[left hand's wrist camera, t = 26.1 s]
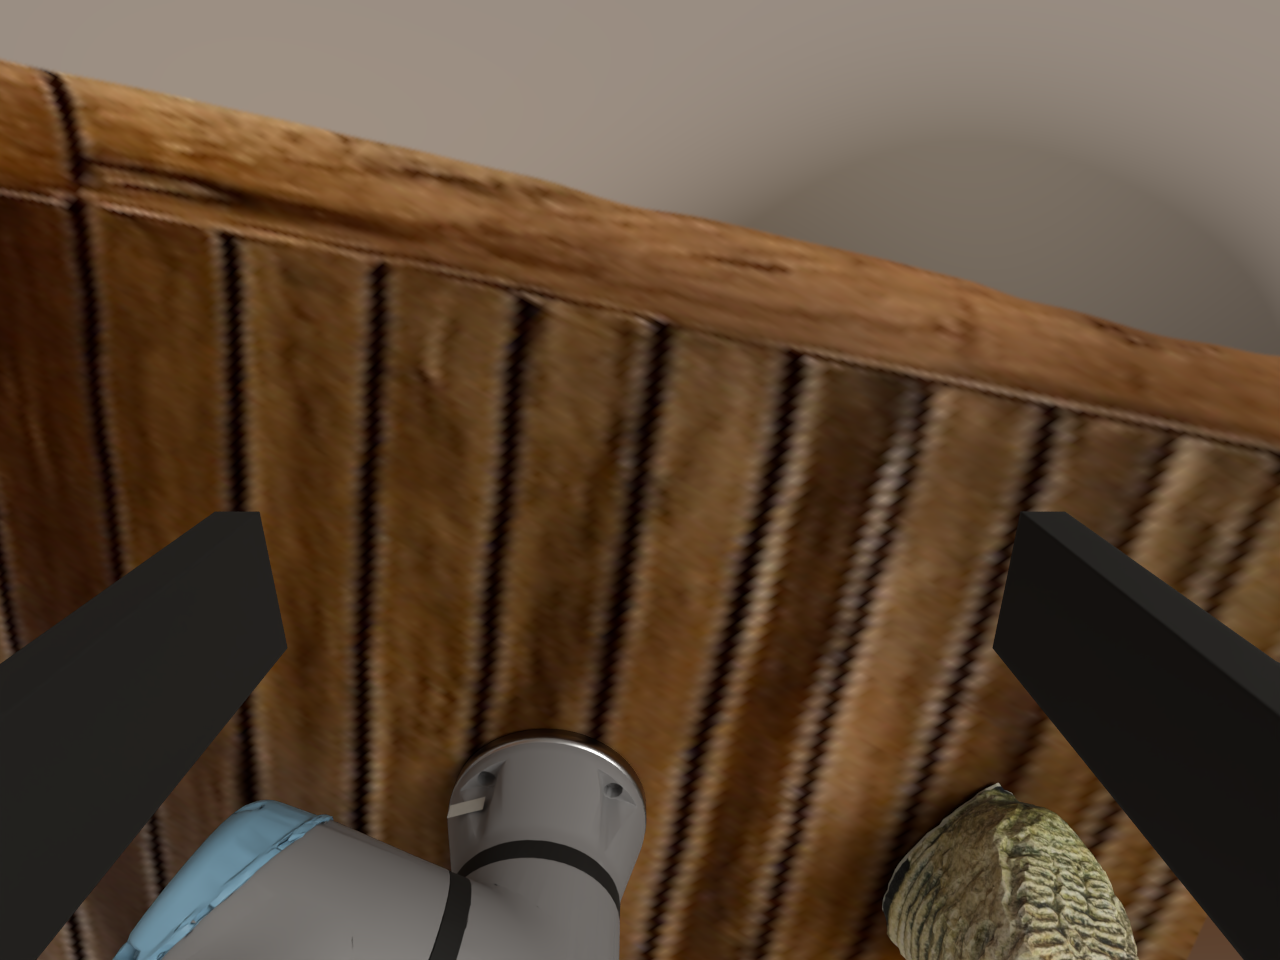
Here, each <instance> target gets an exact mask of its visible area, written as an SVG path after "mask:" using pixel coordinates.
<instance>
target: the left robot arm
mask: <svg viewBox="0 0 1280 960" xmlns="http://www.w3.org/2000/svg"><path fill="white" fill-rule="evenodd" d="M286 649H287V644H286V639H285V634H284V629H283V624H282V619H281V614H280V609H279V605H278V600H277V595H276V590H275V585H274V580H273V575H272V571H271V566H270V561H269V556H268V551H267V546H266V541H265V536H264V532H263V527H262V522H261V517H260V512H214V513H213V514H211V515H210V516H208V517H207V518H205V519H204V520H203V521H201V522H200V523H198V524H197V525H196V526H194V527H193V528H191V529H190V530H189V531H187V532H186V533H184V534H183V535H182V536H180V537H179V538H177V539H176V540H174V541H173V542H172V543H170V544H169V545H167V546H166V547H165V548H163V549H162V550H160V551H159V552H158V553H156V554H155V555H153V556H152V557H150V558H149V559H148V560H146V561H145V562H143V563H142V564H141V565H139V566H138V567H136V568H135V569H134V570H132V571H131V572H129V573H128V574H127V575H125V576H124V577H122V578H121V579H119V580H118V581H117V582H115V583H114V584H112V585H111V586H110V587H108V588H107V589H105V590H104V591H103V592H101V593H100V594H98V595H97V596H96V597H94V598H93V599H91V600H90V601H88V602H87V603H86V604H84V605H83V606H81V607H80V608H79V609H77V610H76V611H74V612H73V613H72V614H70V615H69V616H67V617H66V618H64V619H63V620H62V621H60V622H59V623H57V624H56V625H55V626H53V627H52V628H50V629H49V630H48V631H46V632H45V633H43V634H42V635H41V636H39V637H38V638H36V639H35V640H33V641H32V642H31V643H29V644H28V645H26V646H25V647H24V648H22V649H21V650H19V651H18V652H17V653H15V654H14V655H12V656H11V657H9V658H8V659H7V660H5V661H4V662H2V663H1V664H0V960H36V959H37V958H38V957H39V956H40V954H41V953H42V952H43V951H44V949H45V948H46V947H47V946H48V944H49V943H50V942H51V941H52V940H53V938H54V937H55V936H56V935H57V933H58V932H59V931H60V930H61V928H62V927H63V926H64V925H65V923H66V922H67V921H68V920H69V918H70V917H71V916H72V915H73V913H74V912H75V911H76V910H77V908H78V907H79V906H80V905H81V904H82V902H83V901H84V900H85V899H86V897H87V896H88V895H89V894H90V892H91V891H92V890H93V889H94V887H95V886H96V885H97V884H98V882H99V881H100V880H101V879H102V877H103V876H104V875H105V874H106V872H107V871H108V870H109V869H110V868H111V866H112V865H113V864H114V863H115V861H116V860H117V859H118V858H119V856H120V855H121V854H122V853H123V851H124V850H125V849H126V848H127V846H128V845H129V844H130V843H131V841H132V840H133V839H134V838H135V836H136V835H137V834H138V833H139V832H140V830H141V829H142V828H143V827H144V825H145V824H146V823H147V822H148V820H149V819H150V818H151V817H152V815H153V814H154V813H155V812H156V810H157V809H158V808H159V807H160V805H161V804H162V803H163V802H164V801H165V799H166V798H167V797H168V796H169V794H170V793H171V792H172V791H173V789H174V788H175V787H176V786H177V784H178V783H179V782H180V781H181V779H182V778H183V777H184V776H185V774H186V773H187V772H188V771H189V769H190V768H191V767H192V766H193V765H194V763H195V762H196V761H197V760H198V758H199V757H200V756H201V755H202V753H203V752H204V751H205V750H206V748H207V747H208V746H209V745H210V743H211V742H212V741H213V740H214V738H215V737H216V736H217V735H218V733H219V732H220V731H221V730H222V729H223V727H224V726H225V725H226V724H227V722H228V721H229V720H230V719H231V717H232V716H233V715H234V714H235V712H236V711H237V710H238V709H239V707H240V706H241V705H242V704H243V702H244V701H245V700H246V699H247V697H248V696H249V695H250V694H251V693H252V691H253V690H254V689H255V688H256V686H257V685H258V684H259V683H260V681H261V680H262V679H263V678H264V676H265V675H266V674H267V673H268V671H269V670H270V669H271V668H272V666H273V665H274V664H275V663H276V662H277V660H278V659H279V658H280V657H281V655H282V654H283V653H284V652H285V650H286ZM993 649H994V650H995V652H996V653H997V654H998V655H999V657H1000V658H1001V659H1002V660H1003V662H1004V663H1005V664H1006V665H1007V666H1008V668H1009V669H1010V670H1011V671H1012V673H1013V674H1014V675H1015V676H1016V678H1017V679H1018V680H1019V681H1020V683H1021V684H1022V685H1023V686H1024V688H1025V689H1026V690H1027V691H1028V693H1029V694H1030V695H1031V696H1032V698H1033V699H1034V700H1035V701H1036V702H1037V704H1038V705H1039V706H1040V707H1041V709H1042V710H1043V711H1044V712H1045V714H1046V715H1047V716H1048V717H1049V719H1050V720H1051V721H1052V722H1053V724H1054V725H1055V726H1056V727H1057V729H1058V730H1059V731H1060V732H1061V733H1062V735H1063V736H1064V737H1065V738H1066V740H1067V741H1068V742H1069V743H1070V745H1071V746H1072V747H1073V748H1074V750H1075V751H1076V752H1077V753H1078V755H1079V756H1080V757H1081V758H1082V760H1083V761H1084V762H1085V763H1086V765H1087V766H1088V767H1089V768H1090V769H1091V771H1092V772H1093V773H1094V774H1095V776H1096V777H1097V778H1098V779H1099V781H1100V782H1101V783H1102V784H1103V786H1104V787H1105V788H1106V789H1107V791H1108V792H1109V793H1110V794H1111V796H1112V797H1113V798H1114V799H1115V801H1116V802H1117V803H1118V804H1119V805H1120V807H1121V808H1122V809H1123V810H1124V812H1125V813H1126V814H1127V815H1128V817H1129V818H1130V819H1131V820H1132V822H1133V823H1134V824H1135V825H1136V827H1137V828H1138V829H1139V830H1140V832H1141V833H1142V834H1143V835H1144V837H1145V838H1146V839H1147V840H1148V841H1149V843H1150V844H1151V845H1152V846H1153V848H1154V849H1155V850H1156V851H1157V853H1158V854H1159V855H1160V856H1161V858H1162V859H1163V860H1164V861H1165V863H1166V864H1167V865H1168V866H1169V868H1170V869H1171V870H1172V871H1173V872H1174V874H1175V875H1176V876H1177V877H1178V879H1179V880H1180V881H1181V882H1182V884H1183V885H1184V886H1185V887H1186V889H1187V890H1188V891H1189V892H1190V894H1191V895H1192V896H1193V897H1194V899H1195V900H1196V901H1197V902H1198V904H1199V905H1200V906H1201V907H1202V908H1203V910H1204V911H1205V912H1206V913H1207V915H1208V916H1209V917H1210V918H1211V920H1212V921H1213V922H1214V923H1215V925H1216V926H1217V927H1218V928H1219V930H1220V931H1221V932H1222V933H1223V935H1224V936H1225V937H1226V938H1227V939H1228V941H1229V942H1230V943H1231V944H1232V946H1233V947H1234V948H1235V949H1236V951H1237V952H1238V953H1239V954H1240V956H1241V957H1242V958H1243V959H1244V960H1280V663H1279V662H1276V661H1275V660H1273V659H1272V658H1271V657H1269V656H1268V655H1266V654H1265V653H1263V652H1262V651H1261V650H1259V649H1258V648H1256V647H1255V646H1254V645H1252V644H1251V643H1249V642H1248V641H1247V640H1245V639H1244V638H1242V637H1241V636H1239V635H1238V634H1237V633H1235V632H1234V631H1232V630H1231V629H1230V628H1228V627H1227V626H1225V625H1224V624H1223V623H1221V622H1220V621H1218V620H1217V619H1216V618H1214V617H1213V616H1211V615H1210V614H1208V613H1207V612H1206V611H1204V610H1203V609H1201V608H1200V607H1199V606H1197V605H1196V604H1194V603H1193V602H1192V601H1190V600H1189V599H1187V598H1186V597H1184V596H1183V595H1182V594H1180V593H1179V592H1177V591H1176V590H1175V589H1173V588H1172V587H1170V586H1169V585H1168V584H1166V583H1165V582H1163V581H1162V580H1161V579H1159V578H1158V577H1156V576H1155V575H1153V574H1152V573H1151V572H1149V571H1148V570H1146V569H1145V568H1144V567H1142V566H1141V565H1139V564H1138V563H1137V562H1135V561H1134V560H1132V559H1131V558H1129V557H1128V556H1127V555H1125V554H1124V553H1122V552H1121V551H1120V550H1118V549H1117V548H1115V547H1114V546H1113V545H1111V544H1110V543H1108V542H1107V541H1106V540H1104V539H1103V538H1101V537H1100V536H1098V535H1097V534H1096V533H1094V532H1093V531H1091V530H1090V529H1089V528H1087V527H1086V526H1084V525H1083V524H1082V523H1080V522H1079V521H1077V520H1076V519H1075V518H1073V517H1072V516H1070V515H1069V514H1067V513H1066V512H1020V517H1019V522H1018V527H1017V532H1016V536H1015V541H1014V546H1013V551H1012V556H1011V561H1010V566H1009V571H1008V575H1007V580H1006V585H1005V590H1004V595H1003V600H1002V605H1001V609H1000V614H999V619H998V624H997V629H996V634H995V639H994V644H993ZM447 818H448V833H449V846H450V858H451V871H452V872H451V871H449V870H447V869H445V868H443V867H440V866H438V865H435V864H433V863H430V862H428V861H426V860H423V859H421V858H418V857H416V856H414V855H411V854H409V853H407V852H404V851H402V850H400V849H398V848H395V847H393V846H391V845H388V844H386V843H384V842H381V841H379V840H377V839H375V838H372V837H370V836H368V835H365V834H363V833H361V832H358V831H356V830H354V829H352V828H349V827H347V826H345V825H342V824H340V823H338V822H335V821H333V817H331V816H329V815H319V816H318V815H315V814H312V813H309V812H306V811H304V810H301V809H298V808H295V807H292V806H290V805H287V804H284V803H281V802H278V801H275V800H260V801H256V802H253V803H250V804H248V805H246V806H244V807H242V808H240V809H239V810H237V811H236V812H235V813H233V814H232V815H231V816H230V817H229V818H227V819H226V820H225V821H224V822H223V823H222V824H221V825H220V826H219V827H218V828H217V829H216V830H215V831H214V832H213V833H212V834H211V835H210V836H209V837H208V838H207V839H206V840H205V841H204V843H203V844H202V845H201V846H200V847H199V848H198V849H197V850H196V852H195V853H194V854H193V855H192V856H191V857H190V858H189V860H188V861H187V862H186V863H185V864H184V865H183V867H182V868H181V869H180V870H179V871H178V873H177V874H176V875H175V876H174V877H173V879H172V880H171V881H170V882H169V884H168V885H167V886H166V887H165V889H164V890H163V891H162V892H161V893H160V895H159V896H158V897H157V899H156V900H155V901H154V902H153V904H152V905H151V906H150V907H149V909H148V910H147V911H146V913H145V914H144V915H143V917H142V918H141V919H140V921H139V922H138V923H137V925H136V926H135V928H134V929H133V930H132V932H131V933H130V935H129V938H128V941H127V942H126V943H125V944H124V945H123V946H122V947H121V948H120V950H119V951H118V953H117V954H116V956H115V957H114V958H113V959H112V960H619V933H620V901H621V898H622V896H623V893H624V891H625V888H626V886H627V883H628V880H629V878H630V875H631V873H632V870H633V868H634V865H635V863H636V860H637V857H638V855H639V852H640V850H641V847H642V844H643V839H644V834H645V829H646V800H645V794H644V790H643V787H642V784H641V782H640V780H639V778H638V776H637V774H636V773H635V771H634V770H633V769H632V767H631V766H630V765H629V764H628V762H627V761H626V760H625V759H624V758H623V757H621V756H620V755H619V754H618V753H617V752H615V751H614V750H613V749H611V748H610V747H608V746H607V745H605V744H603V743H601V742H599V741H597V740H595V739H593V738H590V737H588V736H585V735H582V734H579V733H575V732H570V731H565V730H557V729H534V730H526V731H520V732H516V733H512V734H509V735H506V736H503V737H501V738H498V739H496V740H494V741H492V742H490V743H489V744H487V745H486V746H484V747H483V748H481V749H480V750H479V751H477V752H476V753H475V754H474V755H473V756H472V757H471V758H470V759H469V760H468V761H467V763H466V764H465V765H464V767H463V768H462V770H461V772H460V774H459V776H458V778H457V781H456V783H455V786H454V789H453V793H452V796H451V799H450V804H449V812H448V816H447Z"/></svg>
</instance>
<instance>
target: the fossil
mask: <svg viewBox="0 0 1280 960" xmlns="http://www.w3.org/2000/svg"><path fill="white" fill-rule="evenodd" d="M882 910H883V912H884V914H885V918H886V921H887V935H888V937H889V938H890V940H891V941H892V942H893V943H894V944H895V945H896V946H897V947H898V948H899V949H900V953H901V955H902V956H903V957H904V958H905V959H906V960H1139V959H1138V957H1137V946H1136V944H1135V941H1134V937H1133V933H1132V929H1131V924H1130V921H1129V919H1128V916H1127V914H1126V912H1125V909H1124V907H1123V905H1122V903H1121V902H1120V901H1119V899H1118V898H1117V897H1116V896H1115V895H1114V892H1113V888H1112V885H1111V883H1110V881H1109V879H1108V876H1107V874H1106V872H1105V871H1104V870H1102V868H1101V865H1100V864H1099V863H1098V862H1097V861H1096V859H1095V858H1094V856H1093V855H1092V853H1091V852H1090V851H1089V850H1088V849H1087V847H1086V846H1085V845H1084V844H1083V842H1082V841H1081V840H1080V838H1079V837H1078V836H1077V834H1076V833H1075V832H1074V831H1073V830H1072V829H1071V828H1070V827H1069V826H1068V824H1067V823H1066V822H1065V821H1064V820H1062V819H1061V818H1060V817H1059V816H1058V815H1057V814H1056V813H1054V812H1052V811H1050V810H1048V809H1046V808H1044V807H1038V806H1035V805H1032V804H1027V803H1022V802H1018V801H1017V800H1016V799H1015V796H1014V795H1013V794H1012V793H1010V792H1008V791H1006V790H1004V789H1003V788H1002V787H1001V785H1000V784H999V783H997V784H995V785H992V786H990V787H988V788H986V789H984V790H982V791H981V792H979V793H978V794H977V795H976V796H975V797H974V798H972V799H971V800H969V801H967V802H966V803H964V804H963V805H962V806H960V807H959V808H957V809H956V810H955V811H954V812H953V813H952V814H950V815H949V816H947V817H946V818H945V819H943V820H942V822H941V823H940V825H939V826H937V827H936V828H934V829H933V830H931V831H930V832H928V833H927V834H926V835H925V836H924V837H923V838H922V839H921V840H920V841H919V842H918V843H917V844H916V845H915V846H914V847H913V848H912V849H911V850H910V851H909V852H908V853H907V854H906V856H905V857H904V858H903V859H902V861H901V862H900V863H899V864H898V866H897V868H896V869H895V871H894V873H893V876H892V878H891V880H890V882H889V884H888V890H887V892H886V893H885V895H884V898H883V904H882Z"/></svg>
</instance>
